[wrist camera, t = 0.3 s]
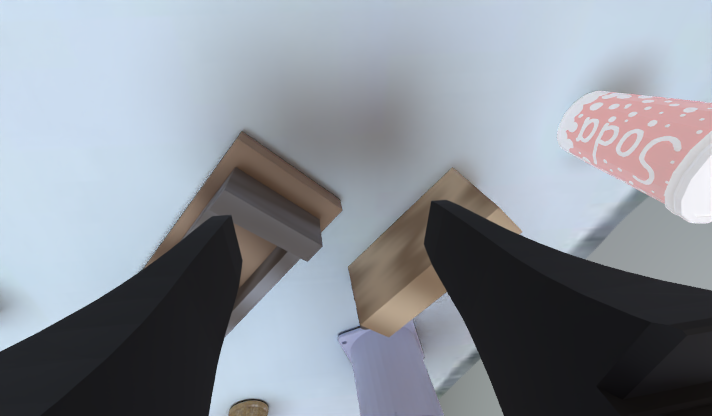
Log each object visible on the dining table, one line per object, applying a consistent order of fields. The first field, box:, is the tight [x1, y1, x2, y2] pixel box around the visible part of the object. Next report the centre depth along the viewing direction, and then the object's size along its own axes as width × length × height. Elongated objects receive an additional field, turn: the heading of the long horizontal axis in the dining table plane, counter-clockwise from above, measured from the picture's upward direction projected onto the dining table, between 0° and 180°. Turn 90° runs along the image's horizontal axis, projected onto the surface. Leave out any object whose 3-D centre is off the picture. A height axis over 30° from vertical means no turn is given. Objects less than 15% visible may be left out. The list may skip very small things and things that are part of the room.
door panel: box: [348, 167, 522, 337], centre depth 21 cm, size 13×3×6 cm, turn 138°
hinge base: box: [143, 131, 342, 338], centre depth 20 cm, size 20×8×4 cm, turn 137°
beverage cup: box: [557, 91, 712, 223], centre depth 15 cm, size 6×6×14 cm
